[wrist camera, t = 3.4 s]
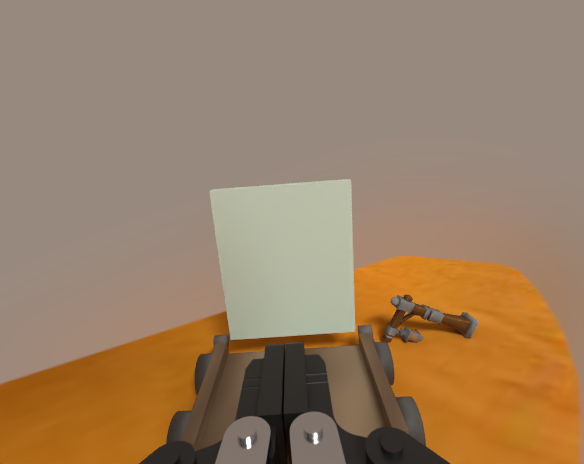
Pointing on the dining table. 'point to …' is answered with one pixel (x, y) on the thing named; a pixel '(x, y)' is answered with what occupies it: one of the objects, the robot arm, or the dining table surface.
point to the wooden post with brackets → (405, 304)
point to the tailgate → (286, 258)
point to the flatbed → (342, 384)
